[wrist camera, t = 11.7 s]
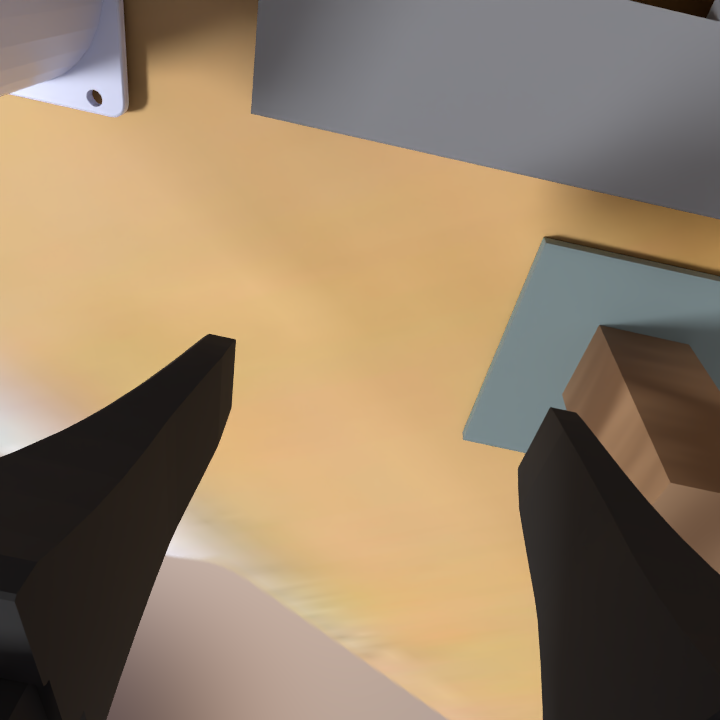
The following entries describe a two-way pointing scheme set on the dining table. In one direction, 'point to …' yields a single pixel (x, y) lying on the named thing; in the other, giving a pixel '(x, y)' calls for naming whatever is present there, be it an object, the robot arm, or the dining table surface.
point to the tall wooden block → (656, 426)
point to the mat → (585, 331)
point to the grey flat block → (509, 87)
